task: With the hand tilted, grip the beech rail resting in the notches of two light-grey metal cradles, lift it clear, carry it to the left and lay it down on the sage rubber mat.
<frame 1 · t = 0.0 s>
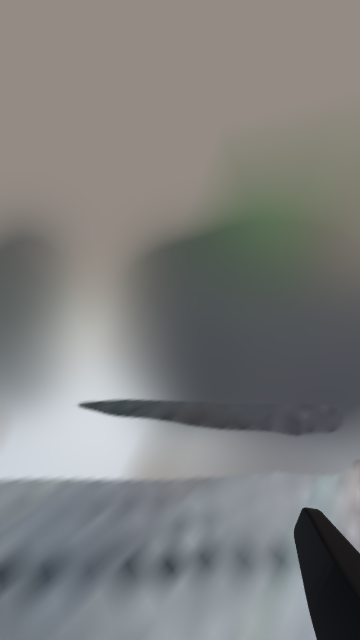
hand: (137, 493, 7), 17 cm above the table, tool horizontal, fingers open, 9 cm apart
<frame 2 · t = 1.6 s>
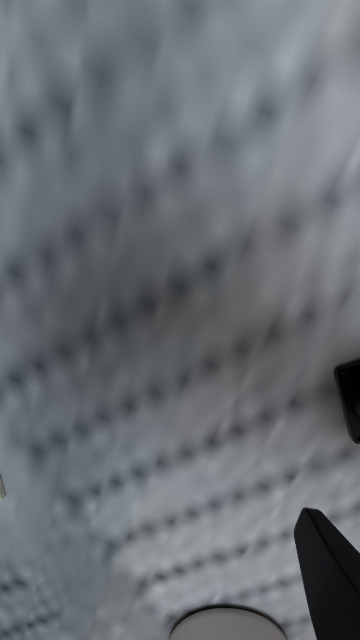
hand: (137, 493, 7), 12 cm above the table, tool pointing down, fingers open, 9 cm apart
cylinder vase: (226, 638, 29), on the table
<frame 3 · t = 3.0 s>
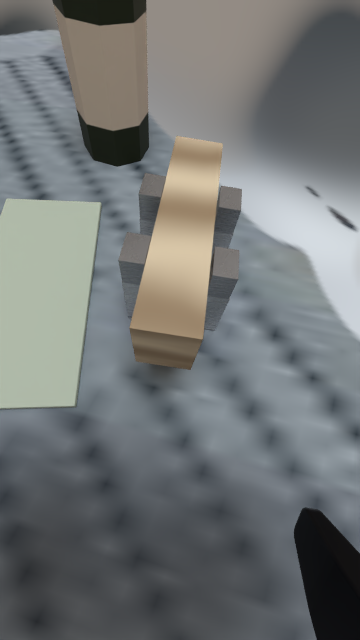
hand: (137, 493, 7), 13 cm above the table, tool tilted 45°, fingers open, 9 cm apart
beech rail: (179, 266, 21), point 5 cm above the table
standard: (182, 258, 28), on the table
wine bottle: (117, 147, 36), on the table
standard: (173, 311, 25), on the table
mat: (36, 286, 25), on the table
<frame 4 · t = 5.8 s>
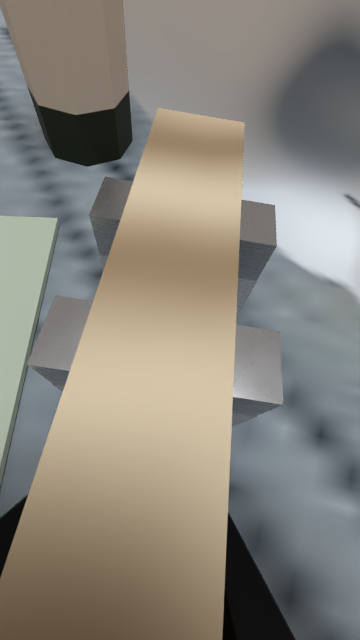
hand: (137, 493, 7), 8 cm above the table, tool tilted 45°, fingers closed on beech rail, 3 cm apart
beech rail: (164, 346, 11), point 5 cm above the table, touching gripper, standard, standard
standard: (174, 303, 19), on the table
wine bottle: (90, 141, 27), on the table
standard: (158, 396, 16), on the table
when the fingers open (13 cm above the table, at t = 7.2 s): beech rail drops 6 cm and tips over, resting on mat.
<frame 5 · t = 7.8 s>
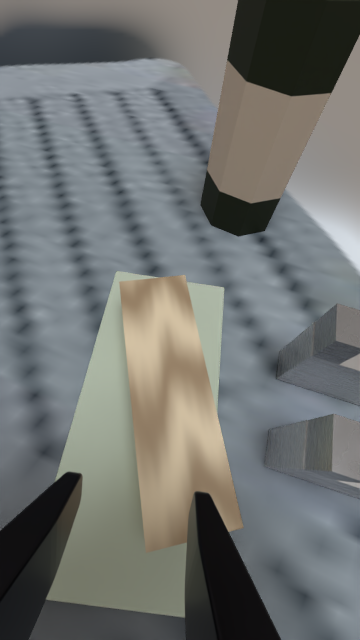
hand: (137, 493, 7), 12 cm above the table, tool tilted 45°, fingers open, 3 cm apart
beech rail: (131, 394, 18), point 2 cm above the table, tilted 90°, touching mat
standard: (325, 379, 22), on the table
wine bottle: (236, 210, 31), on the table
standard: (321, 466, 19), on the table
mat: (149, 402, 20), on the table
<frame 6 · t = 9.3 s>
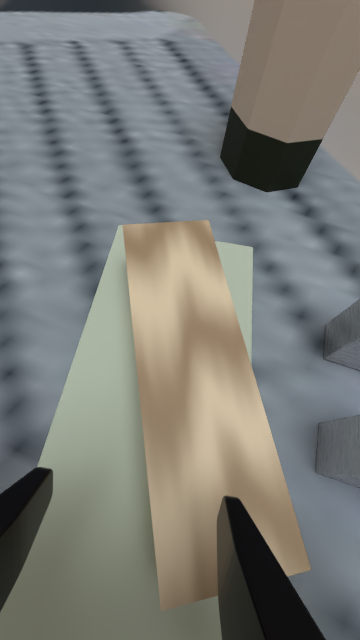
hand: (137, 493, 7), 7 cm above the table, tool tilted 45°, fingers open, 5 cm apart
beech rail: (138, 371, 13), point 2 cm above the table, tilted 90°, touching mat
wine bottle: (262, 164, 26), on the table
mat: (160, 385, 15), on the table
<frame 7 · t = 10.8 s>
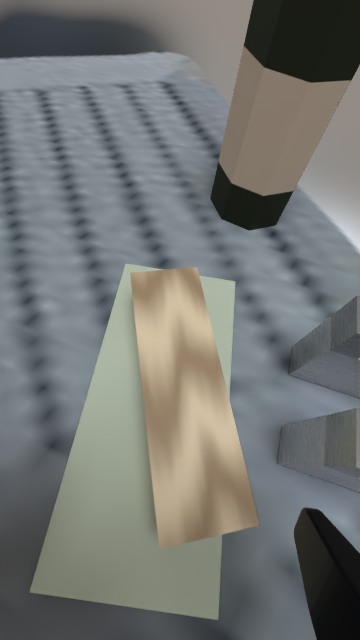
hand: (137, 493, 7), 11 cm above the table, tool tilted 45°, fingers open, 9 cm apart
beech rail: (142, 387, 18), point 2 cm above the table, tilted 90°, touching mat
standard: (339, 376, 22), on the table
wine bottle: (246, 204, 30), on the table
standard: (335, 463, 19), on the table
mat: (159, 396, 20), on the table
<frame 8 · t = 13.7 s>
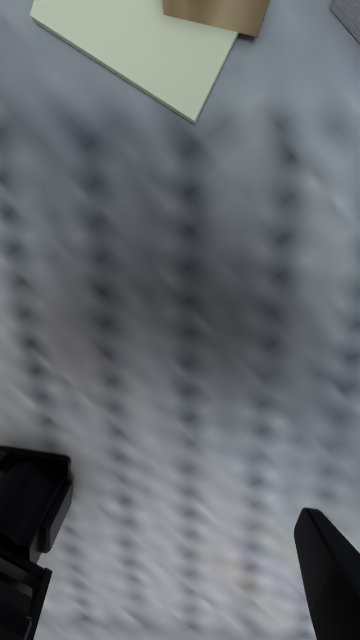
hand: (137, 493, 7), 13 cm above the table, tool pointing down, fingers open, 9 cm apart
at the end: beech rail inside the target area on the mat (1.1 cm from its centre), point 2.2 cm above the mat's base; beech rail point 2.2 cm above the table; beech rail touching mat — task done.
